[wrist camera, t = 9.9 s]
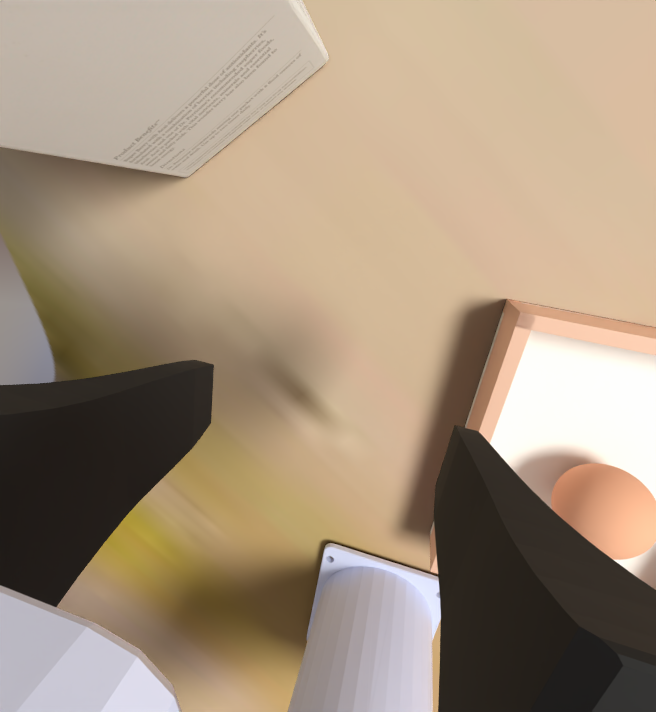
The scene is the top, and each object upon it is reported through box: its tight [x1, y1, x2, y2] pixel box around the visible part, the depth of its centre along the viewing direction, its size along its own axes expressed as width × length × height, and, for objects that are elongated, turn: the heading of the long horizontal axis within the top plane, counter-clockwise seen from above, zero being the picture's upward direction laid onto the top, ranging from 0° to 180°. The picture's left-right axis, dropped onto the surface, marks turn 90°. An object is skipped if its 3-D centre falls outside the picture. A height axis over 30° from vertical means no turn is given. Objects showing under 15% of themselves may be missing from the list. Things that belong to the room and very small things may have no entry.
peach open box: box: [430, 299, 656, 590], centre depth 18 cm, size 14×12×3 cm
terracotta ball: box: [551, 463, 656, 560], centre depth 17 cm, size 4×4×4 cm
